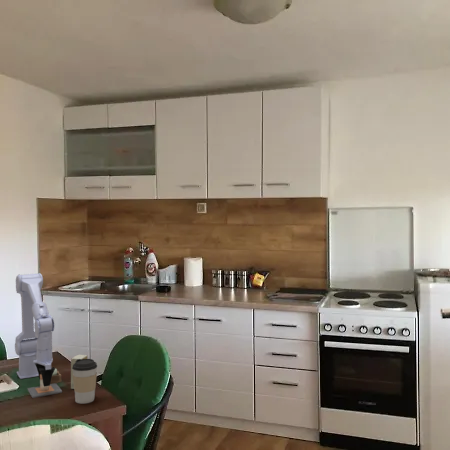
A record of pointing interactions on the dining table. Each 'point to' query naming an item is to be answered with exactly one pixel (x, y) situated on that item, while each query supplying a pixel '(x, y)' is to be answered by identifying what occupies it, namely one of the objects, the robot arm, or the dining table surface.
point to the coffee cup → (84, 380)
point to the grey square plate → (38, 393)
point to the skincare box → (72, 366)
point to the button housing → (56, 378)
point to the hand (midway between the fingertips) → (44, 382)
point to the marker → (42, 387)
